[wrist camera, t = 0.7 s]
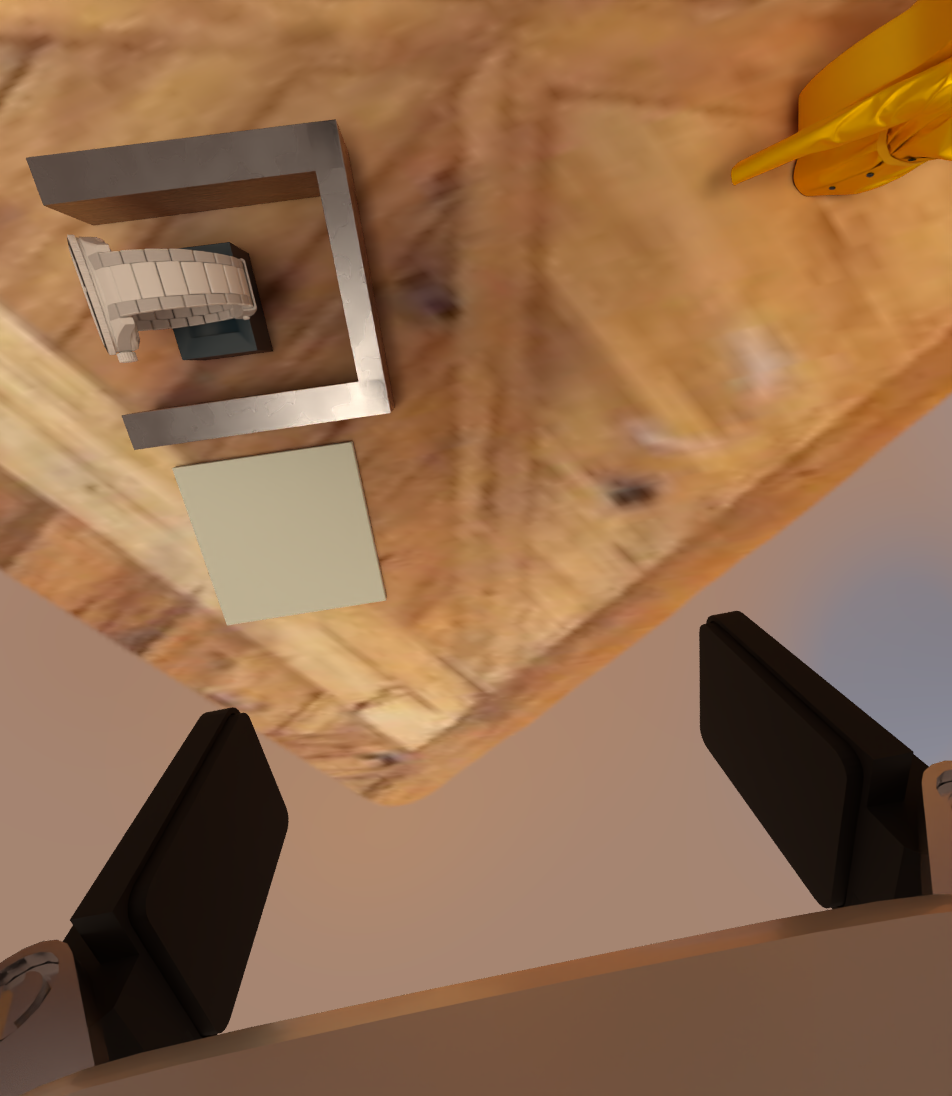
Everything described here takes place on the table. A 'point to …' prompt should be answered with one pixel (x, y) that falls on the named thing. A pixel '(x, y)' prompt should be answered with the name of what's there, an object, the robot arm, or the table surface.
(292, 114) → the table surface
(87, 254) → the watch
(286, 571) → the sage mat
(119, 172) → the u-shaped metal bracket
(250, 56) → the table surface
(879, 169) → the figure statuette
